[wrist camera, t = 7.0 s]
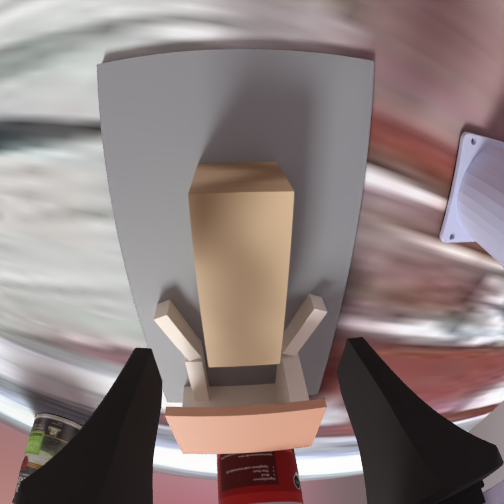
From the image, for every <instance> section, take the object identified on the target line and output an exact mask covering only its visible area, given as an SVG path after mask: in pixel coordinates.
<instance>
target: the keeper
mask: <svg viewBox="0 0 504 504" xmlns="http://www.w3.org/2000/svg"><path fill="white" fill-rule="evenodd" d="M97 79H98V97H99V110H100V122H101V132H102V141H103V149H104V157H105V165H106V172H107V178H108V185H109V191H110V197H111V203H112V208H113V213H114V219H115V224H116V229H117V234H118V238H119V243H120V248H121V252H122V256H123V261H124V265H125V269H126V273H127V277H128V281H129V285H130V289H131V292H132V296H133V300H134V303H135V307H136V310H137V314H138V317H139V321H140V324H141V327H142V331H143V334H144V337H145V340H146V343H147V346H148V348H152V351H153V354H154V357H155V360H156V363H157V366H158V369H159V372H160V375H161V378H162V381H163V382H162V389H163V392H164V395H165V397H166V400H167V402H181V403H183V406H182V407H166V412H165V417H166V419H167V421H168V423H169V426H170V428H171V430H172V432H173V434H174V436H175V438H176V440H177V443H178V445H179V447H180V449H181V451H182V453H183V454H232V453H252V452H266V451H277V450H286V449H295V448H302V447H309V446H311V445H312V443H313V441H314V438H315V436H316V433H317V431H318V428H319V426H320V423H321V421H322V418H323V416H324V413H325V411H326V408H327V406H326V402H325V398H322V399H315V400H309V396H311V395H318V392H319V388H320V385H321V382H322V378H323V375H324V371H325V368H326V364H327V361H328V357H329V353H330V350H331V346H332V342H333V338H334V334H335V330H336V326H337V322H338V318H339V314H340V309H341V305H342V301H343V296H344V292H345V287H346V283H347V278H348V273H349V268H350V263H351V258H352V253H353V247H354V242H355V236H356V230H357V225H358V219H359V212H360V206H361V199H362V192H363V185H364V178H365V170H366V162H367V153H368V144H369V134H370V123H371V111H372V96H373V79H374V61H371V60H366V59H360V58H354V57H347V56H341V55H333V54H325V53H316V52H306V51H293V50H276V49H211V50H194V51H181V52H171V53H162V54H154V55H147V56H140V57H133V58H127V59H122V60H116V61H111V62H106V63H101V64H97ZM227 162H277V163H278V165H279V166H280V168H281V170H282V171H283V173H284V175H285V176H286V178H287V180H288V182H289V183H290V185H291V187H292V188H293V190H294V206H293V221H292V236H291V249H290V262H289V275H288V287H287V298H286V309H285V320H284V330H283V340H282V350H281V359H280V364H270V365H255V366H236V367H209V366H208V360H207V353H206V346H205V340H204V333H203V326H202V318H201V311H200V303H199V295H198V287H197V279H196V270H195V261H194V252H193V242H192V232H191V222H190V211H189V199H188V193H189V190H190V187H191V184H192V180H193V177H194V174H195V171H196V168H197V165H198V164H203V163H227Z"/></svg>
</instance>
